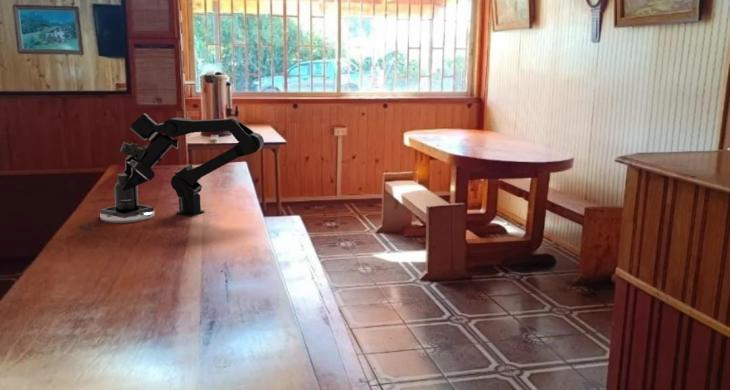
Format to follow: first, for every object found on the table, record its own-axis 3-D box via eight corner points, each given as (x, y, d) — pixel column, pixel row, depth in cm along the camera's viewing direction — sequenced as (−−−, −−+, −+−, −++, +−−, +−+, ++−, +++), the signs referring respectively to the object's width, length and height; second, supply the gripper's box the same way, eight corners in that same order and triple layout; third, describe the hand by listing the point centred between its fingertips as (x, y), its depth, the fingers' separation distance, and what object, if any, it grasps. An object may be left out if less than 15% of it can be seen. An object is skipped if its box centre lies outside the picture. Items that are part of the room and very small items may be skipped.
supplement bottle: (123, 215, 192) (121, 177, 189) (111, 212, 196) (108, 174, 193) (143, 211, 197) (141, 174, 195) (131, 208, 201) (128, 171, 199)
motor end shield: (165, 214, 200) (164, 206, 199) (123, 225, 186) (122, 217, 186) (131, 208, 208) (131, 200, 207) (89, 218, 194) (88, 209, 194)
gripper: (130, 129, 201) (96, 165, 198) (140, 136, 185) (103, 175, 182) (157, 152, 206) (124, 187, 204) (169, 160, 191) (133, 199, 188)
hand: (120, 187), depth 194 cm, fingers open, 9 cm apart
